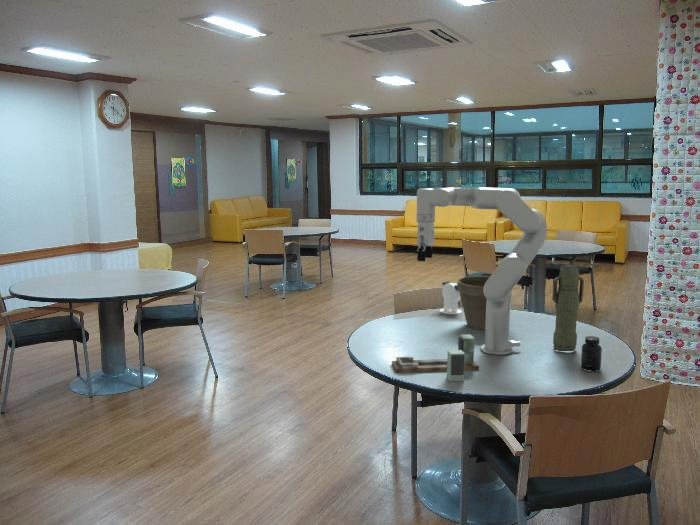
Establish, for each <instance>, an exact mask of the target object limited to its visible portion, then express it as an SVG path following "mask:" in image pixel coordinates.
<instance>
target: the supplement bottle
mask: <svg viewBox="0 0 700 525" xmlns="http://www.w3.org/2000/svg"><path fill="white" fill-rule="evenodd" d="M584 340H585V341H584V343H583V344H582V346H581V358H580V368H581V369H582V368H583V369H586V370H591V371H596V370H599V371H601V368H602V352H603V348H602V346H601V345H600V338H599V337H597V336H592V335H588V336H585V339H584ZM583 369H582V370H583ZM586 370H585V371H586ZM591 371H590V372H591ZM596 372H597V371H596Z"/></svg>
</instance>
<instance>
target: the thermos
mask: <svg viewBox="0 0 700 525" xmlns="http://www.w3.org/2000/svg"><path fill="white" fill-rule="evenodd" d="M584 286H585V280H584V279H583V277H582V276H580V271H579V268H578V266H576V265H574V264H563V265H561V267H560V269H559V271H558V276H556V277H555V278H554V279H553V284H552V299H551V300H552V301H553V302H554V303H555V309H556V312H555V328H554V332H553V336H552V338H553V339H552V343H553V347H552V348H554V349H555V350H558V351H574V350H575V349H577V348H576V346H577V341H578V334H577V319H578V310H579V309H580V308H579V307H580V305H581V304H580V303H583V298H584ZM554 349H553V350H554ZM555 350H554V351H555Z"/></svg>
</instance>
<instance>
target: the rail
mask: <svg viewBox="0 0 700 525" xmlns="http://www.w3.org/2000/svg"><path fill="white" fill-rule="evenodd" d="M457 340H458V342H457V343H458V344H457V345H458V346H457V347H458V348H457V350H462V351H463V352H464V353H465V363H464V371H476V370H477V371H478V370H480V365H479V364H478V363H477V362H476V361H475V358H474V357H475V337H474V336H473V335H472V334H459V336H458V339H457ZM395 359H396V360H392V361H391V366H392V367H393V369H394V372H395V374H401V373H402V374H405V373H406V374H407V373H429V372H447V358H439V359H437V358H436V359H434V358H433V359H414V356H396V358H395Z"/></svg>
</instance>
